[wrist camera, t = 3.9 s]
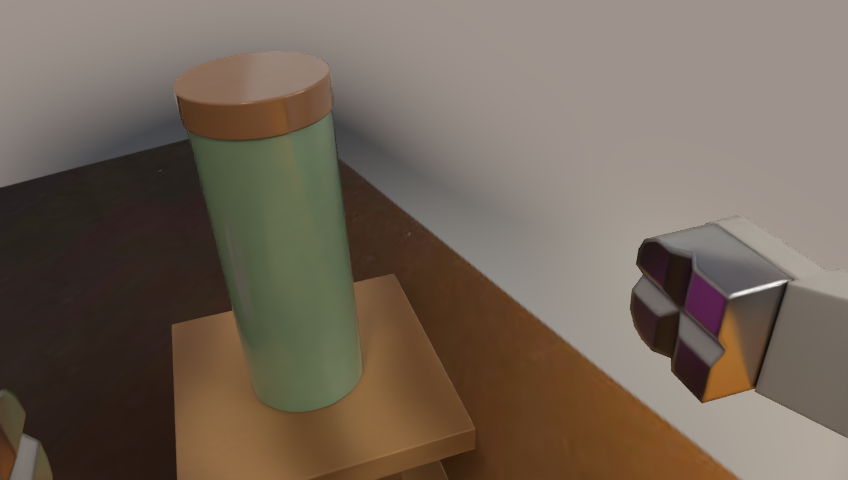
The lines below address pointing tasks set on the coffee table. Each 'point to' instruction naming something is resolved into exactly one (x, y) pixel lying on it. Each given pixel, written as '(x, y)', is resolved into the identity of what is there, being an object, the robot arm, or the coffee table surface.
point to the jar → (278, 220)
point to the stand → (327, 427)
